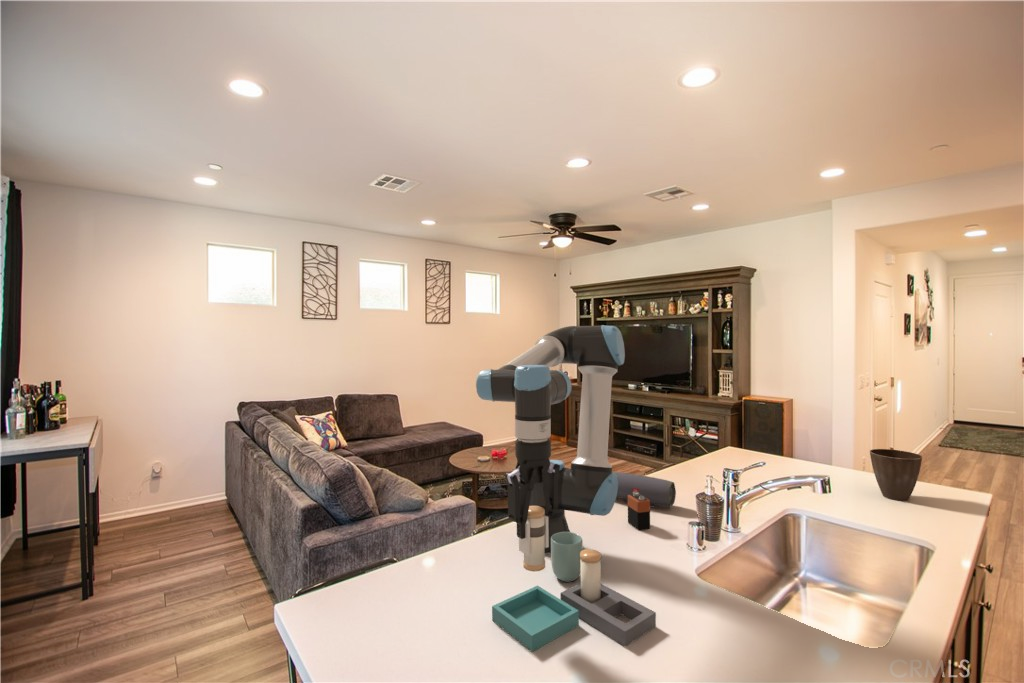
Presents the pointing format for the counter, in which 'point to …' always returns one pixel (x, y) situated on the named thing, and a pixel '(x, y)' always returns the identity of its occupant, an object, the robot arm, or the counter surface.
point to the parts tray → (535, 617)
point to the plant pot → (896, 472)
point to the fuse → (590, 575)
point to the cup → (566, 555)
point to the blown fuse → (536, 540)
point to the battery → (638, 511)
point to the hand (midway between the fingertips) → (534, 548)
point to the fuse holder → (612, 614)
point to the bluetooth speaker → (646, 488)
